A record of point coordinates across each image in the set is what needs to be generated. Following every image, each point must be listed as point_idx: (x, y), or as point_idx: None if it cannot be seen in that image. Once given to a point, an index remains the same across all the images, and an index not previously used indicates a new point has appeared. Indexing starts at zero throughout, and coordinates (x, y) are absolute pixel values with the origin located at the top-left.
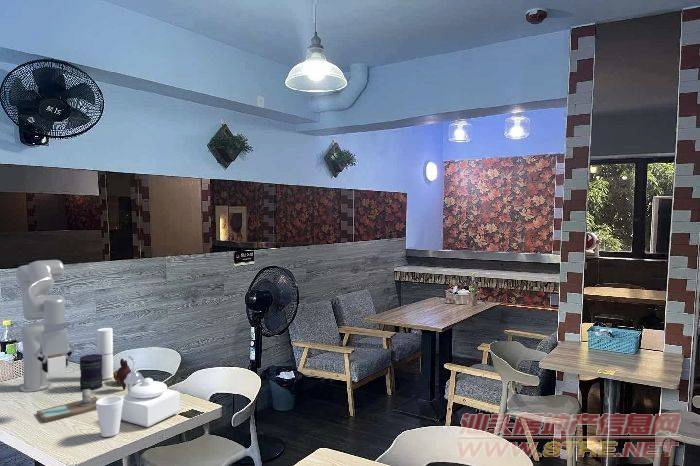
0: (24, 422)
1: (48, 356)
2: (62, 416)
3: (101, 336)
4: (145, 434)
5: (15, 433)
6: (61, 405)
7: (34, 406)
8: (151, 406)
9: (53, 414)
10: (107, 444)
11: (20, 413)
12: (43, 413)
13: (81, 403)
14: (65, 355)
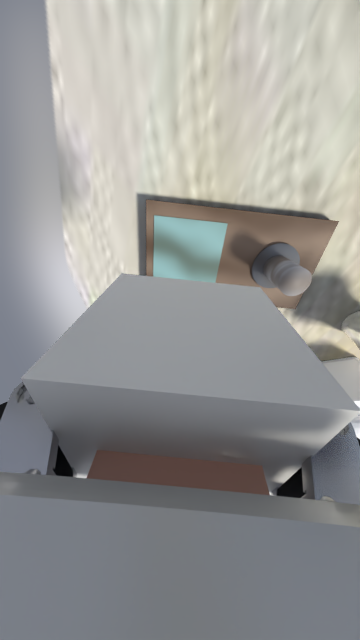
0: (109, 241)
1: (100, 421)
2: None
3: None
4: None
5: (87, 297)
6: (222, 213)
7: (163, 65)
8: None
9: (174, 277)
10: None
11: (104, 126)
12: (156, 246)
13: (265, 258)
14: (286, 492)
